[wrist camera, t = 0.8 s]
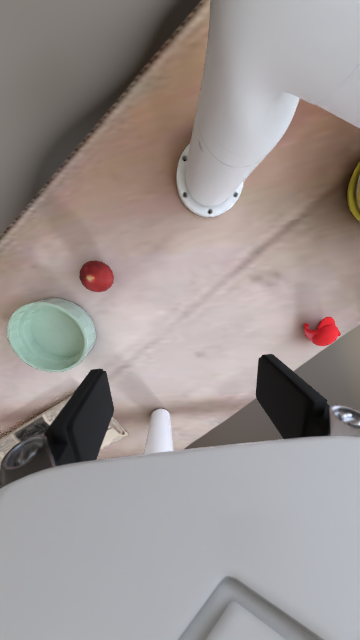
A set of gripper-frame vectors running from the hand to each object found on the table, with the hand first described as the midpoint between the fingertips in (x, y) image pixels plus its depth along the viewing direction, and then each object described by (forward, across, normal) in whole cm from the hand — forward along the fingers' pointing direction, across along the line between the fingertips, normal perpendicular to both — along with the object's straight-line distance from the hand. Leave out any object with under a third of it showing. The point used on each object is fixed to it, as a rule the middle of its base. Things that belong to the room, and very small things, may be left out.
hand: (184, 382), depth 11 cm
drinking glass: (+31, +6, +33) cm, 45 cm away
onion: (+31, +14, -6) cm, 34 cm away
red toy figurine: (+31, -34, +10) cm, 47 cm away
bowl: (+31, +26, +6) cm, 40 cm away
